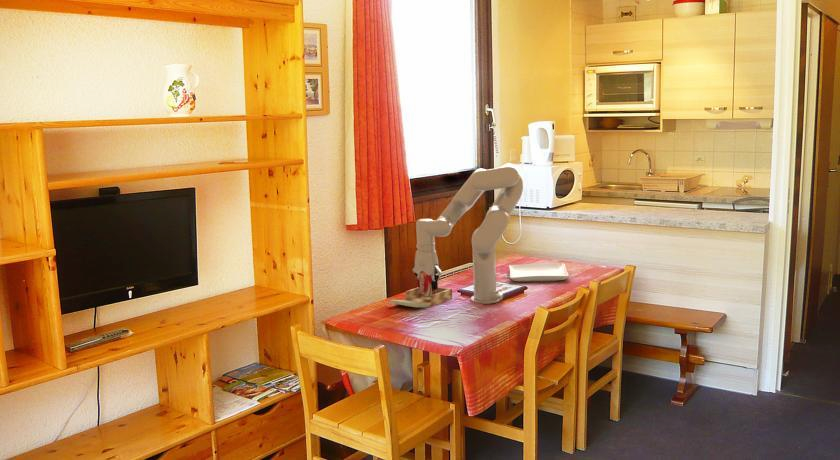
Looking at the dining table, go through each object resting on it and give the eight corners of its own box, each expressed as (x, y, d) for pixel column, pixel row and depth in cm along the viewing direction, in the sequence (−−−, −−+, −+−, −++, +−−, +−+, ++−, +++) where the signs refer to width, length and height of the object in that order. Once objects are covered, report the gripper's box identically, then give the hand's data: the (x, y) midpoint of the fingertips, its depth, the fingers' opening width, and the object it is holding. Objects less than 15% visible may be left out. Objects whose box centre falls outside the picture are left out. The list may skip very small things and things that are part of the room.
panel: (406, 300, 330) (389, 299, 322) (431, 304, 321) (415, 304, 313) (406, 302, 330) (389, 302, 322) (431, 307, 321) (414, 307, 313)
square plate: (564, 270, 380) (564, 262, 379) (569, 283, 353) (569, 275, 352) (509, 271, 383) (508, 263, 382) (509, 284, 356) (509, 276, 355)
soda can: (434, 297, 326) (433, 270, 324) (418, 297, 328) (417, 270, 326) (437, 293, 333) (436, 266, 331) (421, 293, 335) (420, 266, 333)
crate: (425, 295, 341) (424, 284, 340) (452, 300, 331) (451, 289, 330) (406, 302, 331) (405, 291, 330) (433, 307, 322) (432, 295, 321)
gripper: (404, 247, 330) (407, 288, 333) (436, 251, 319) (438, 293, 322) (416, 244, 335) (418, 284, 338) (447, 248, 324) (449, 289, 327)
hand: (428, 288), depth 330 cm, fingers closed on soda can, 6 cm apart
